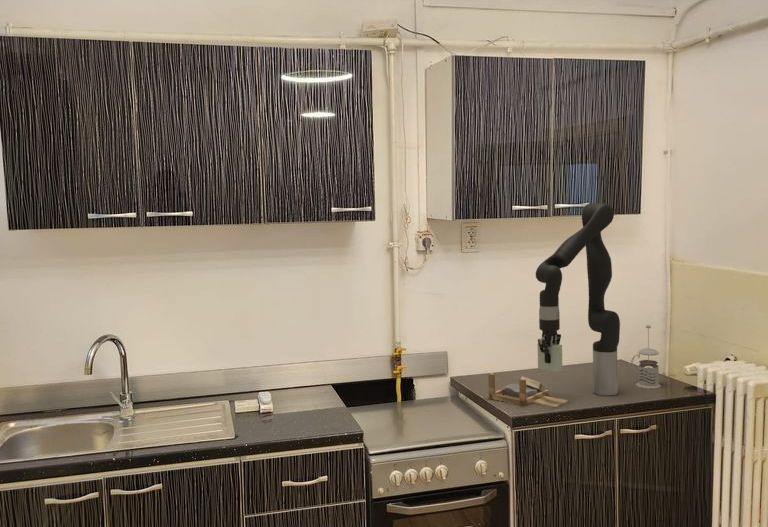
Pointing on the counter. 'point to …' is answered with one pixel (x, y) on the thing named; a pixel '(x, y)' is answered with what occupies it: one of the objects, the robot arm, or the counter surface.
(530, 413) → the counter surface
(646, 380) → the french press
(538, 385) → the birch offcut
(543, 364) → the sage board
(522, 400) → the oak rack
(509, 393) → the stone block
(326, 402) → the counter surface
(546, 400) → the slatted wooden panel
